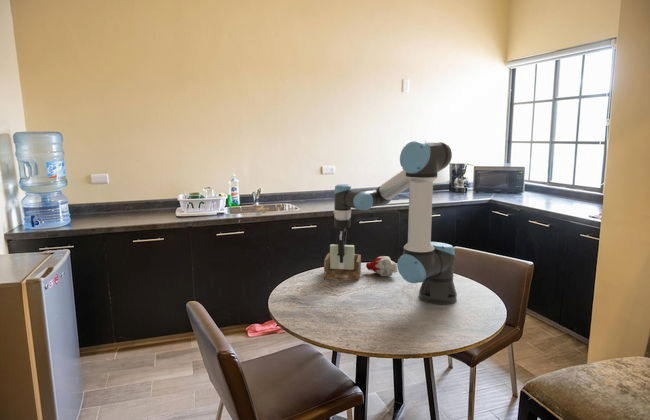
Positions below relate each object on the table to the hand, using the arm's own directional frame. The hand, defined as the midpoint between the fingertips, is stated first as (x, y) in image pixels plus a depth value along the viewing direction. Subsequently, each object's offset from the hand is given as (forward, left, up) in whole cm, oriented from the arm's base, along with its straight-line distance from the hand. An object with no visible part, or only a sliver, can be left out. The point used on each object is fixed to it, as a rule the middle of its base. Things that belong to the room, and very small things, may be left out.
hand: (341, 267), depth 208 cm
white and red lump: (-18, -8, -5) cm, 20 cm away
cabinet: (0, -3, -5) cm, 6 cm away
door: (0, 0, 0) cm, 0 cm away
